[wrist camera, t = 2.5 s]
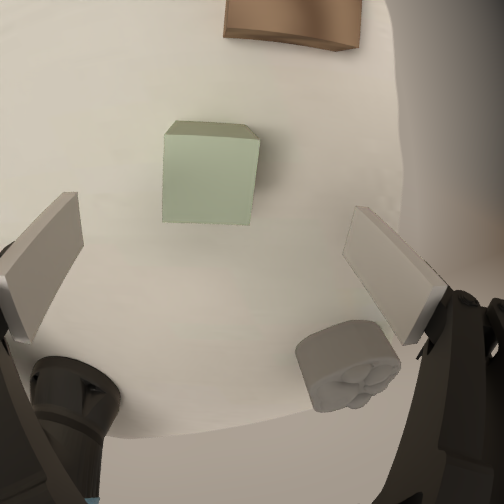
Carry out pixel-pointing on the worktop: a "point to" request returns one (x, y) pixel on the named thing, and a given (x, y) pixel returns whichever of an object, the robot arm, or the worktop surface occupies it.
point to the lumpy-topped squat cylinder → (346, 364)
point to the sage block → (209, 173)
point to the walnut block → (296, 22)
